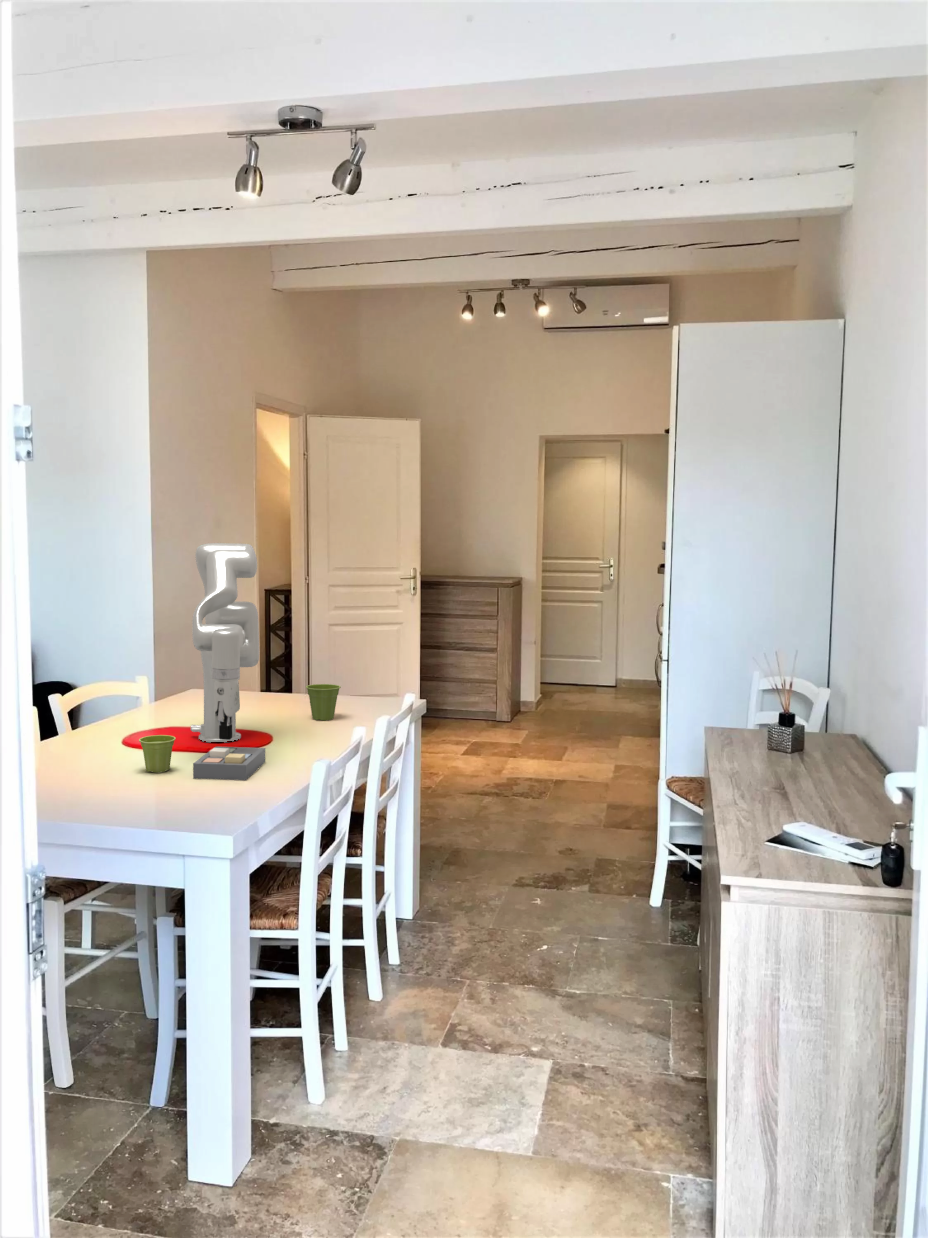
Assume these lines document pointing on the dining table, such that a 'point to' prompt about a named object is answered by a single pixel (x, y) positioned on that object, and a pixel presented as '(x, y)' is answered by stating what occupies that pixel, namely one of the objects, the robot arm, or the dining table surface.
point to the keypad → (230, 765)
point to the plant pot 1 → (157, 752)
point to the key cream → (219, 752)
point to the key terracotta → (213, 760)
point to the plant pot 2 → (323, 700)
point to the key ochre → (235, 758)
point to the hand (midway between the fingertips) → (225, 738)
